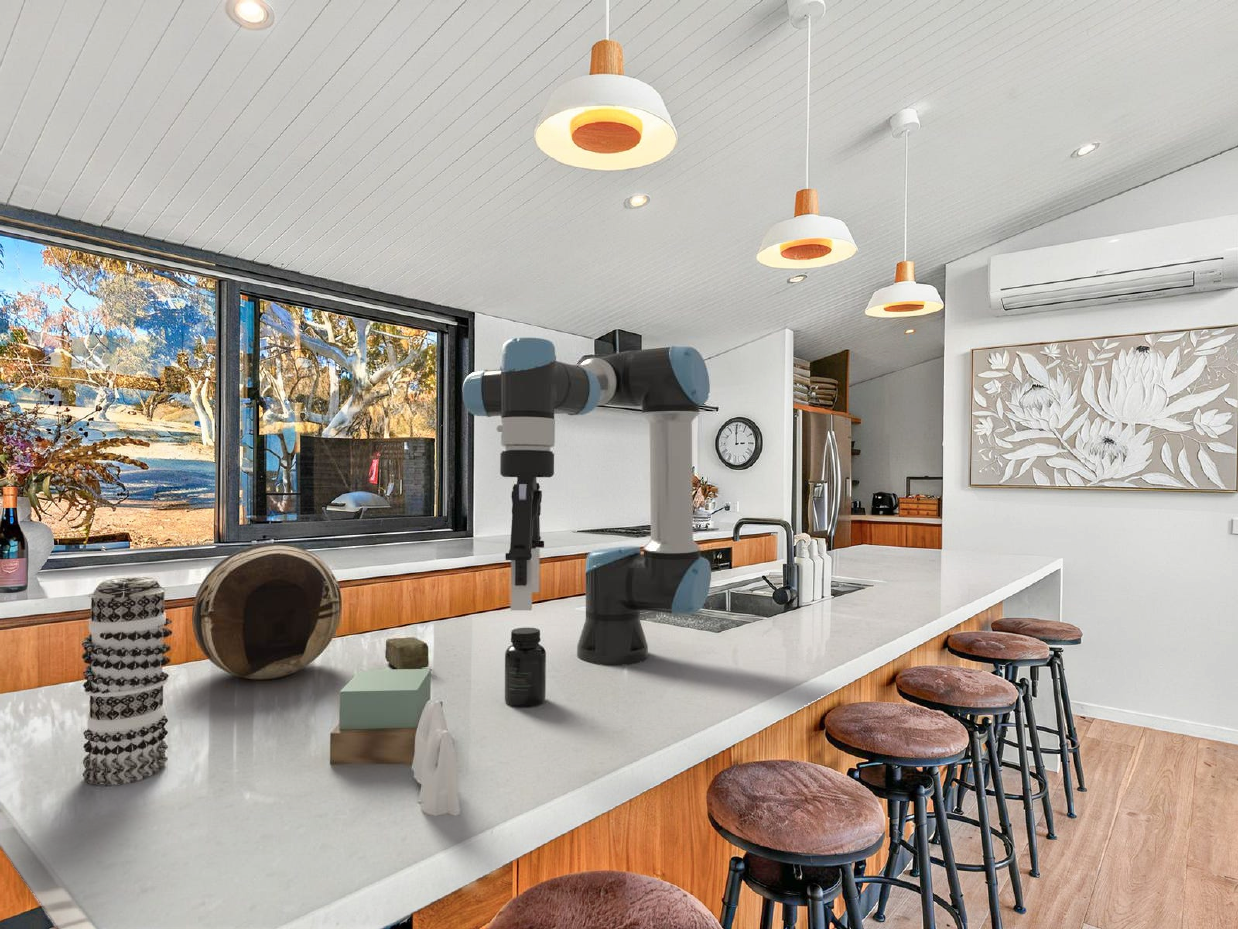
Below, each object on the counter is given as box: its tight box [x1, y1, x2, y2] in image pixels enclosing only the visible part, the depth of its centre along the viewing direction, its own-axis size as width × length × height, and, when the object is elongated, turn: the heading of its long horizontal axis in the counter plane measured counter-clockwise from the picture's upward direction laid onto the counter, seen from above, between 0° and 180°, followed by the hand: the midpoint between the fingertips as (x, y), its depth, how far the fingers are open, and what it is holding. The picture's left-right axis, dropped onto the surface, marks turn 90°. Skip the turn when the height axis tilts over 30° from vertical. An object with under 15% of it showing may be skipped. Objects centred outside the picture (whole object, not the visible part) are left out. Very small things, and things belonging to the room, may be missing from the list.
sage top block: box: [338, 668, 432, 730], centre depth 97 cm, size 10×10×5 cm
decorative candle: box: [81, 576, 173, 787], centre depth 87 cm, size 9×9×25 cm
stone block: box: [384, 636, 430, 669], centre depth 135 cm, size 6×12×5 cm, turn 33°
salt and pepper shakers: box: [411, 699, 461, 817], centre depth 82 cm, size 12×4×11 cm, turn 23°
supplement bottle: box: [504, 627, 547, 709], centre depth 117 cm, size 7×7×12 cm
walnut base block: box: [329, 701, 443, 765], centre depth 96 cm, size 12×12×5 cm
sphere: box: [191, 542, 343, 681], centre depth 130 cm, size 25×25×25 cm
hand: (525, 600), depth 97 cm, fingers open, 13 cm apart
